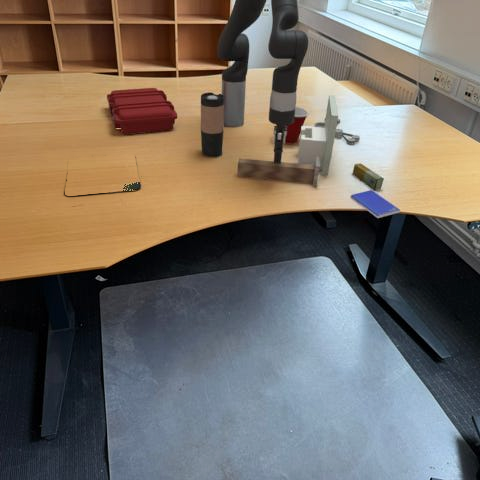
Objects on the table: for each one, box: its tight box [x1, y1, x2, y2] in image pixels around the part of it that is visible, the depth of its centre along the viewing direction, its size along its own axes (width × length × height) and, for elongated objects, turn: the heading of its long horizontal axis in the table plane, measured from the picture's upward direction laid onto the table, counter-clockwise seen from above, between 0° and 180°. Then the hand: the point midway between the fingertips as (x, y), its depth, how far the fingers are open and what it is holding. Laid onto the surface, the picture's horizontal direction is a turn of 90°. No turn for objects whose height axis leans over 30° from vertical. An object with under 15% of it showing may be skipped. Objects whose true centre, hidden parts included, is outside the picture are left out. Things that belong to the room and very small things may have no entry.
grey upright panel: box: [297, 94, 339, 176], centre depth 146 cm, size 10×20×20 cm, turn 173°
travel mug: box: [200, 91, 225, 158], centre depth 148 cm, size 8×8×20 cm
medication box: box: [351, 162, 385, 192], centre depth 140 cm, size 12×3×4 cm, turn 25°
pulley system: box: [314, 118, 361, 145], centre depth 174 cm, size 27×5×15 cm
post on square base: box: [236, 157, 320, 188], centre depth 139 cm, size 25×7×7 cm, turn 83°
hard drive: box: [350, 189, 401, 219], centre depth 130 cm, size 2×8×12 cm
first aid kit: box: [106, 87, 178, 135], centre depth 175 cm, size 32×23×9 cm
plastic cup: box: [285, 105, 310, 145], centre depth 162 cm, size 11×11×12 cm
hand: (277, 157), depth 137 cm, fingers open, 8 cm apart
